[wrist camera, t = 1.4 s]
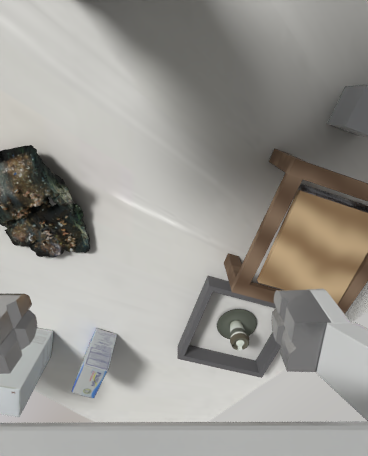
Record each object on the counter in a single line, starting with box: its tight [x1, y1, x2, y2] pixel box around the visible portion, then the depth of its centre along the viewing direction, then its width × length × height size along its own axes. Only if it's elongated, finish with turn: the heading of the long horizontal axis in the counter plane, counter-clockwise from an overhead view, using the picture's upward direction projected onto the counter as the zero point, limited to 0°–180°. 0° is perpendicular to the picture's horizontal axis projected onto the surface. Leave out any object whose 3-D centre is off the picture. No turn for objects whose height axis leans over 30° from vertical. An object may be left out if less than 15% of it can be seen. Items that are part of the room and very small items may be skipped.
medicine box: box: [72, 328, 117, 398], centre depth 53 cm, size 8×4×9 cm, turn 156°
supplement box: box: [0, 328, 53, 417], centre depth 51 cm, size 7×7×13 cm
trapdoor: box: [257, 184, 368, 304], centre depth 41 cm, size 15×13×3 cm
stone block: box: [327, 85, 368, 137], centre depth 38 cm, size 5×5×5 cm
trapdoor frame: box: [224, 149, 368, 314], centre depth 43 cm, size 21×18×8 cm
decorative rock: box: [0, 145, 90, 257], centre depth 43 cm, size 19×6×15 cm
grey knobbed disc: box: [217, 309, 257, 351], centre depth 53 cm, size 12×12×5 cm
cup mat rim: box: [178, 276, 281, 378], centre depth 54 cm, size 18×18×3 cm
